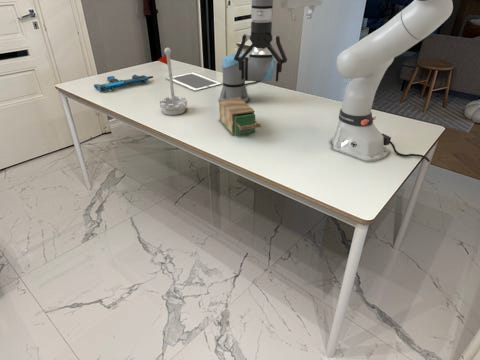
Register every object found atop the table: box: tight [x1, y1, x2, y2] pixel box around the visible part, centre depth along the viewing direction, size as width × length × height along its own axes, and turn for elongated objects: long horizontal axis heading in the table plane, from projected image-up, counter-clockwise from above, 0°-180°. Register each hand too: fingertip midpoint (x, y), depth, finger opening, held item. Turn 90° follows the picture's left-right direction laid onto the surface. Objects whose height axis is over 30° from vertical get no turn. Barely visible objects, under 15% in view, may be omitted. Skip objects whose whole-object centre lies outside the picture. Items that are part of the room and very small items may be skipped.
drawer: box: [234, 113, 262, 136], centre depth 147 cm, size 22×9×8 cm, turn 21°
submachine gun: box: [93, 74, 154, 92], centre depth 206 cm, size 34×4×25 cm
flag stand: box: [157, 47, 188, 116], centre depth 161 cm, size 13×13×30 cm
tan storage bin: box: [218, 98, 255, 136], centre depth 152 cm, size 17×10×10 cm, turn 21°
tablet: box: [166, 71, 223, 92], centre depth 210 cm, size 32×20×1 cm, turn 41°
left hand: (259, 79), depth 134 cm, fingers open, 13 cm apart
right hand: (300, 19), depth 134 cm, fingers open, 8 cm apart
